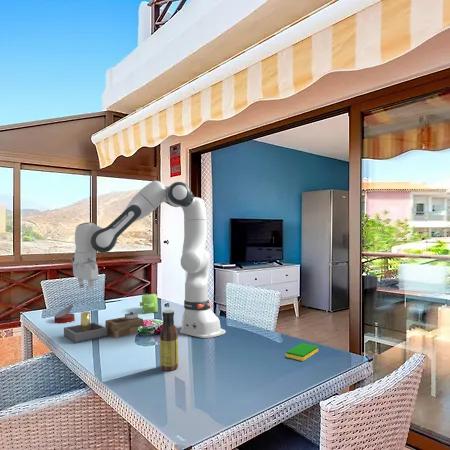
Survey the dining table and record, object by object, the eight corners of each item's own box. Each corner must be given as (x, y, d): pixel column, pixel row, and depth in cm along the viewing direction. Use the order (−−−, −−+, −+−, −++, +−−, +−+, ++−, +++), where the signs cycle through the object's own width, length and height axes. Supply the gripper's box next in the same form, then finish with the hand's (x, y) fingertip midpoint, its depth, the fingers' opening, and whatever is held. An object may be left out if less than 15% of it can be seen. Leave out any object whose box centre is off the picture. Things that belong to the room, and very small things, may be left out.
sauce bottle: (170, 363, 130) (170, 308, 130) (182, 367, 126) (182, 310, 126) (156, 368, 125) (156, 311, 125) (168, 373, 121) (168, 313, 121)
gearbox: (139, 309, 222) (138, 293, 223) (155, 307, 225) (154, 292, 225) (141, 315, 205) (140, 298, 205) (158, 313, 208) (157, 296, 208)
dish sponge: (285, 358, 136) (285, 351, 136) (301, 348, 147) (301, 342, 147) (303, 362, 132) (303, 355, 132) (318, 352, 143) (318, 346, 143)
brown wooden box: (143, 331, 170) (143, 312, 170) (115, 337, 161) (115, 317, 161) (132, 327, 178) (132, 309, 178) (105, 333, 168) (105, 313, 168)
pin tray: (106, 336, 162) (106, 328, 162) (75, 343, 153) (75, 334, 153) (94, 330, 173) (94, 322, 173) (63, 336, 163) (63, 327, 163)
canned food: (70, 331, 188) (68, 316, 184) (51, 329, 189) (48, 314, 184) (79, 316, 199) (77, 302, 194) (61, 314, 199) (59, 300, 194)
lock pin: (91, 335, 163) (91, 312, 163) (82, 336, 160) (82, 314, 160) (88, 333, 166) (88, 311, 166) (79, 334, 163) (79, 312, 163)
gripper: (101, 259, 158) (102, 290, 158) (83, 256, 173) (84, 285, 173) (87, 259, 154) (87, 292, 153) (70, 257, 169) (70, 287, 168)
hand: (85, 288), depth 163 cm, fingers open, 8 cm apart
